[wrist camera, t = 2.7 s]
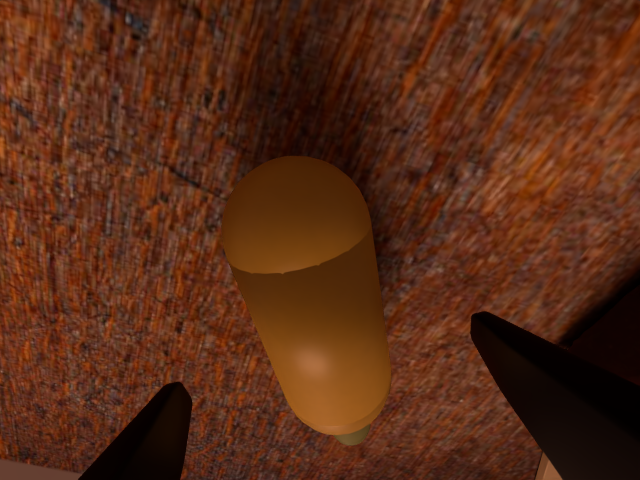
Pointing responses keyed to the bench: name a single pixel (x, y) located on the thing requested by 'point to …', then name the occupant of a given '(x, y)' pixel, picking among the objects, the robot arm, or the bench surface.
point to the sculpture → (615, 339)
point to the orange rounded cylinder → (312, 290)
